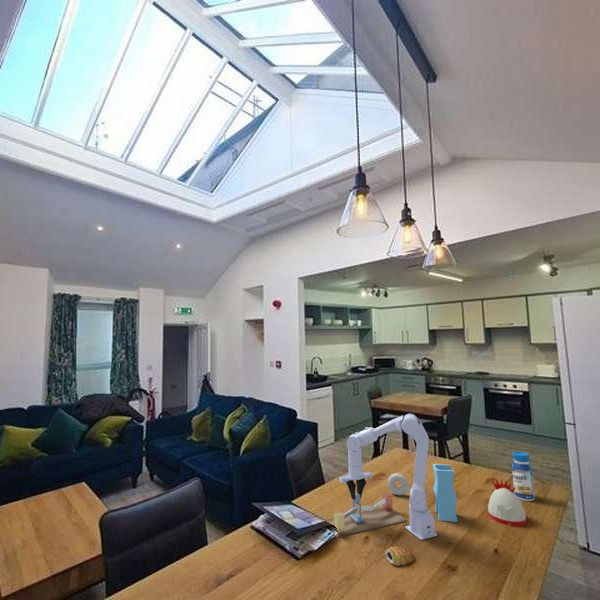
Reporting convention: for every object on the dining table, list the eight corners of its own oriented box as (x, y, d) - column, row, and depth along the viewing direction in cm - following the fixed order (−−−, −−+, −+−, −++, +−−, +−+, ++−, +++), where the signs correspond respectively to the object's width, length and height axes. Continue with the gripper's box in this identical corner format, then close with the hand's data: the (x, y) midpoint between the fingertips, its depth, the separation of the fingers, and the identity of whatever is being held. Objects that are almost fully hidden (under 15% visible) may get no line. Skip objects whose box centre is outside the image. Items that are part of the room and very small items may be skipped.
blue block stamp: (357, 514, 148) (356, 491, 149) (365, 521, 142) (364, 496, 143) (349, 516, 147) (348, 492, 148) (356, 523, 141) (355, 498, 142)
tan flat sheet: (406, 521, 143) (406, 520, 144) (336, 538, 132) (336, 536, 132) (388, 507, 156) (388, 506, 156) (322, 521, 144) (322, 520, 144)
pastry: (407, 551, 123) (407, 540, 124) (418, 563, 117) (418, 551, 117) (384, 556, 121) (383, 545, 121) (394, 568, 114) (393, 556, 115)
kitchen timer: (489, 506, 155) (486, 471, 157) (525, 514, 148) (522, 477, 150) (487, 520, 143) (484, 482, 145) (527, 529, 136) (523, 489, 138)
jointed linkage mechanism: (396, 511, 151) (396, 496, 151) (339, 535, 133) (338, 517, 134) (387, 507, 155) (386, 492, 156) (330, 529, 138) (329, 512, 138)
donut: (409, 495, 168) (408, 473, 169) (408, 498, 165) (407, 476, 166) (388, 492, 172) (387, 471, 173) (387, 494, 168) (386, 473, 170)
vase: (458, 522, 142) (454, 471, 145) (438, 520, 144) (435, 470, 146) (453, 512, 150) (450, 464, 152) (434, 511, 152) (431, 463, 154)
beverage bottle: (539, 499, 161) (535, 454, 163) (527, 502, 158) (523, 457, 160) (522, 492, 169) (518, 449, 171) (510, 495, 166) (506, 452, 168)
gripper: (365, 459, 153) (366, 491, 152) (335, 463, 148) (336, 497, 147) (373, 464, 147) (375, 498, 145) (343, 469, 142) (344, 504, 140)
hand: (356, 498), depth 145 cm, fingers closed on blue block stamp, 2 cm apart
